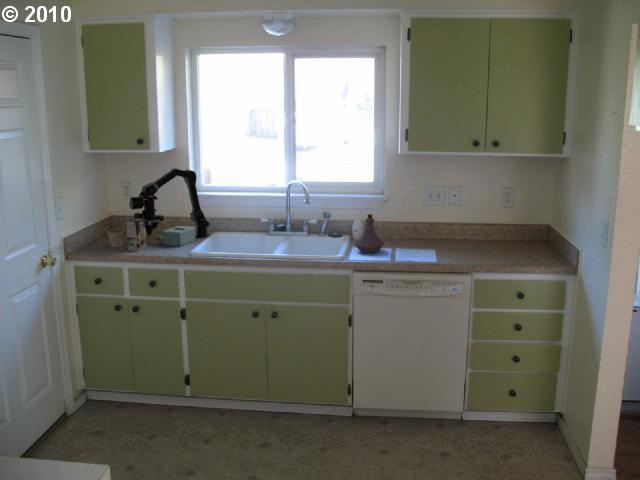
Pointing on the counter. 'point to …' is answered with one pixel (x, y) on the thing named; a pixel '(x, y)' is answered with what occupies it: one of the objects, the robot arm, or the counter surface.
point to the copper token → (152, 233)
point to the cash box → (178, 236)
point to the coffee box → (136, 234)
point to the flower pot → (116, 237)
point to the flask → (369, 238)
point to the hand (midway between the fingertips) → (150, 235)
